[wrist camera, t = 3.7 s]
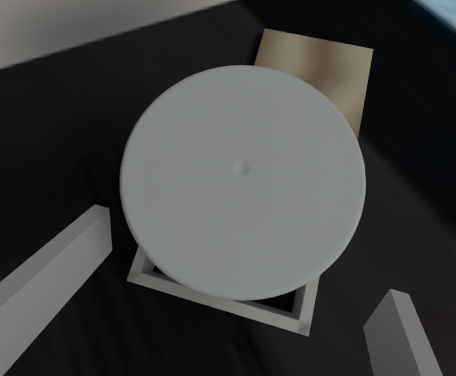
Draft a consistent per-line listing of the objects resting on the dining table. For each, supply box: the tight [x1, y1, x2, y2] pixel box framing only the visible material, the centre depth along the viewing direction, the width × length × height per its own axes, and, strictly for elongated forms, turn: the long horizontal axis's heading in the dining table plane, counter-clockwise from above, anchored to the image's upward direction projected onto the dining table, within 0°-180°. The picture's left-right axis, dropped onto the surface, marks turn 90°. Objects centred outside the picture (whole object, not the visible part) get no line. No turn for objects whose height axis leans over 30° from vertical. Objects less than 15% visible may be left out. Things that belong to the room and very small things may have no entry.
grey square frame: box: [127, 246, 320, 336], centre depth 23 cm, size 14×14×3 cm
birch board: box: [254, 29, 373, 140], centre depth 27 cm, size 11×11×1 cm
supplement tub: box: [120, 65, 366, 301], centre depth 17 cm, size 10×10×15 cm
